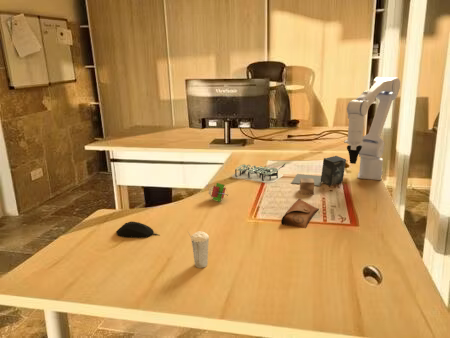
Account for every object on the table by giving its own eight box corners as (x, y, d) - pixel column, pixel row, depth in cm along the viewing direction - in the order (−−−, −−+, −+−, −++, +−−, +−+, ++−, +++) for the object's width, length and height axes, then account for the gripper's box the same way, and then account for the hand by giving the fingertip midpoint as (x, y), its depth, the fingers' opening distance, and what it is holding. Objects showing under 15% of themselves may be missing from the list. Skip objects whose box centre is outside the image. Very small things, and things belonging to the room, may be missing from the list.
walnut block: (312, 190, 152) (312, 178, 151) (313, 194, 148) (314, 182, 146) (299, 190, 153) (300, 178, 152) (300, 194, 148) (301, 182, 147)
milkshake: (189, 261, 101) (187, 227, 98) (209, 259, 102) (208, 225, 99) (189, 270, 97) (187, 235, 94) (210, 269, 97) (208, 233, 95)
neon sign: (296, 159, 184) (272, 175, 160) (295, 167, 185) (272, 184, 161) (256, 154, 194) (228, 169, 170) (256, 162, 195) (228, 178, 171)
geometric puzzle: (222, 189, 149) (212, 176, 144) (234, 193, 145) (225, 180, 140) (212, 203, 147) (202, 191, 142) (224, 207, 142) (214, 195, 137)
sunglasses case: (307, 229, 118) (297, 210, 118) (288, 235, 122) (278, 217, 122) (319, 208, 134) (310, 192, 134) (302, 215, 138) (293, 199, 137)
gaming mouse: (158, 241, 114) (157, 229, 113) (113, 237, 117) (111, 225, 115) (165, 231, 120) (164, 220, 118) (122, 228, 122) (121, 217, 121)
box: (330, 186, 157) (333, 162, 153) (320, 181, 161) (323, 158, 157) (343, 182, 161) (346, 158, 157) (332, 178, 165) (336, 155, 161)
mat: (324, 177, 168) (324, 176, 168) (319, 186, 156) (319, 185, 156) (297, 174, 172) (297, 173, 172) (291, 183, 161) (291, 182, 161)
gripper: (346, 126, 159) (344, 158, 163) (343, 133, 146) (341, 167, 150) (364, 127, 157) (361, 159, 161) (363, 134, 144) (360, 168, 148)
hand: (353, 163), depth 155 cm, fingers closed
